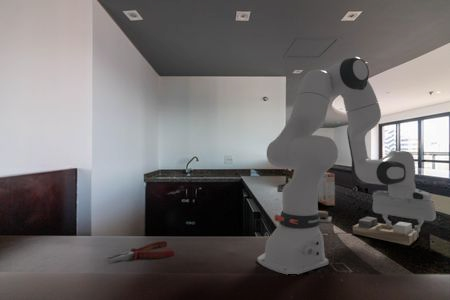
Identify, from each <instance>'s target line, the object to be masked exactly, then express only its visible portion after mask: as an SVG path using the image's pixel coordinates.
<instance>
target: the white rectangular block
mask: <svg viewBox="0 0 450 300" xmlns="http://www.w3.org/2000/svg"><path fill="white" fill-rule="evenodd" d="M412 225H413V223H410V222H405V221H398V222H397V223H394V225H393V232H394V233H399V234H405V235H406V236H407V235H408V234H410V233H411V232H412V229H413V226H412Z"/></svg>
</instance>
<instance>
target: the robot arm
mask: <svg viewBox="0 0 450 300" xmlns="http://www.w3.org/2000/svg"><path fill="white" fill-rule="evenodd" d="M369 77H370V70H369V66H368V65H367V63H366V61H365V60H364V59H362V58H360V57H358V56H355V57H354V56H352V57H347V58H346V59H344V60H342V61H340V62H337V63H335V64H332V65H330V66H328V67H326V68H325V69H312V70H309V71H308V72H307V73H306V74H305V75H304V77H303V78H302V80H301V83H300V85H299V87H298V90H297V93H296V96H295V101H294V104H293V107H292V110H291V113H290V116H289V119H288V120H287V122H286V124H285V126H284V127H283V129H282V130H281V132H280V133H279V134H278V135H277V137H276V138H275V139H274V140H272V141H271V142H270V143H269V144H268V146H267V148H266V158H267V161H268V163H270V164H271V166H273V167H277V168H279V169H283V170H293V174H292V177H291V180H290V181H289V182H286V184H285V185H284V186H283V188H282V189H281V190H282V193H281V194H282V211H281V212H280V214H274V217H273V220H274V221H275V222H278V223H279V224H278V225H277V227H276V228H275V230H274V231H273V232H272V233H271V234H270V236H269V237H268V238H267V240H266V242H265V248H264V253H262V254H261V255H259V256H257V260H256V261H257V262H258V263H259V264H260V266H261V265H262V266H263V267H265V268H267V269H269V270H271V271H274V272H276V273H281V274H285V275H288V274H297V275H300V274H303V273H306V272H309V271H312V270H315V269H319V268H321V267H324V266H327V265H330V264H329V259H328V258H327V257H326V254H325V245H324V236H323V233H322V232H321V230H320V227H319V225H320V222H319V220H320V217H319V213H318V211H319V207H318V203H319V202H318V189H319V185H320V182H321V179H322V177H323V176H324V174H325V173H326V172H328V171H329V170H330V169H331V168H332V167H333V166H335V163H336V162H337V160H338V156H339V150H338V146H337V144H336V142H335V141H334V140H333V139H332V138H331V137H330V136H329V137H328V136H324V135H315V134H314V133H315V132H317V131H318V130H319V129H321V128H322V127H323V126H324V125H325V121H326V117H327V112H328V107H329V104H330V98H332V97H338V96H341V98H342V99H343V104H344V109H345V112H346V116H347V122H348V123H347V125H348V126H347V130H346V132H347V133H346V134H347V141H348V146H349V152H350V157H351V158H350V159H351V174H352V178H353V179H354V180H355V181H356V182H358V183H360V184H373V185H382V186H387V190H379V189H378V190H376V191H373V192H372V199H373V202H372V212H374V213H375V214H380V215H382V219H383V220H384V221H385V224H386V226H391V225H392V221H390V220H389V219H388V217H389V216H393V217H394V216H395V217H400V218H407V219H413V220H417V224H416V225H414V226H413V229H414V231H418V232H421V227H422V225H423V223H424V222H425V221H426V222H433V221H434V220H436V218H437V213H436V207H435V204H434V202H433V200H432V199H431V198H432V193H430V192H427V191H424V190H421V189H418V188H416V182H415V176H416V165H415V163H416V162H415V157H414V156H413V154H412V153H411V152H410V151H406V150H405V151H404V150H391V151H390V152H389V153H388V154H386V155H385V156H383V157H382V158H380V159H371V158H369V156H368V151H367V146H366V136H367V133H369V132H370V131H371V130H373V129H374V128H375V127H376V126H377V125H378V124H379V122H380V121H381V118H382V114H381V113H382V112H381V108H380V107H381V106H380V105H379V100H378V98H377V94H376V93H375V91H374V89H373V87H372V85H371V83H370V82H369Z"/></svg>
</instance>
